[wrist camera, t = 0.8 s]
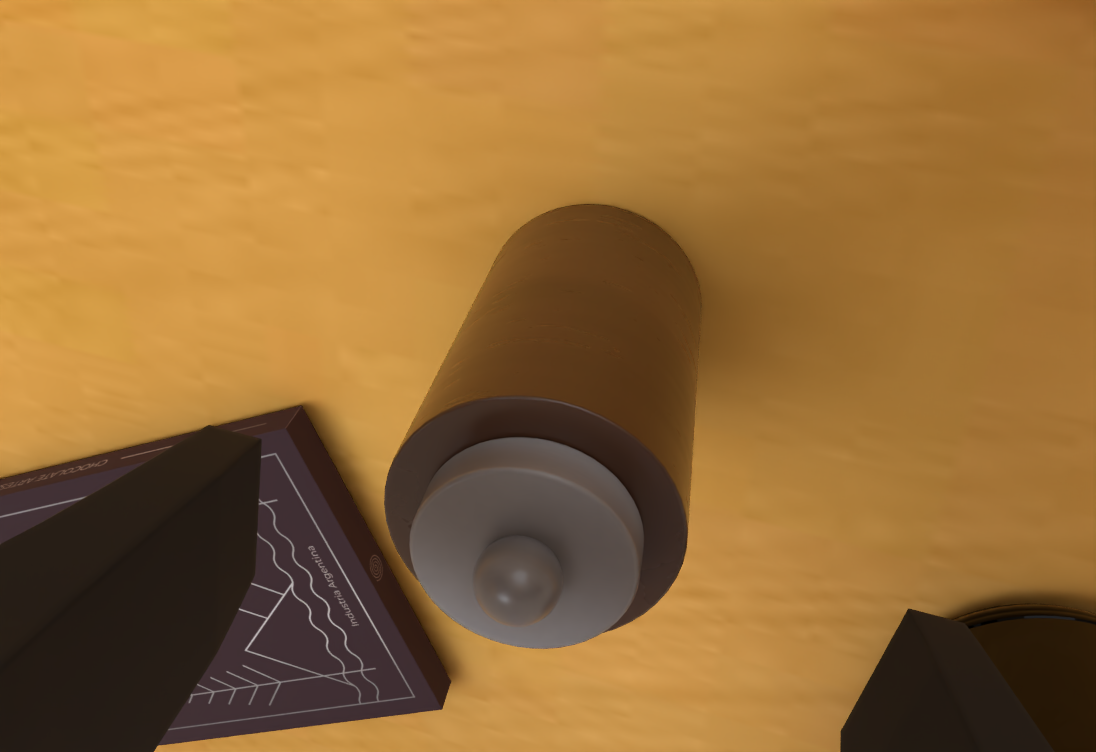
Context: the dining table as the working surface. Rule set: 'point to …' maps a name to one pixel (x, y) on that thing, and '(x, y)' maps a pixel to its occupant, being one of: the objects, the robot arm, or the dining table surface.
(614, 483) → the pepper mill
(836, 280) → the dining table surface
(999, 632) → the supplement container
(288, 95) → the dining table surface
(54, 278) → the dining table surface
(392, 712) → the chocolate bar
